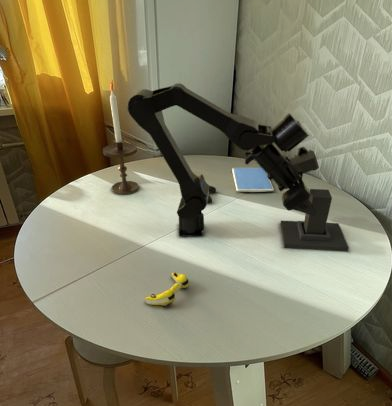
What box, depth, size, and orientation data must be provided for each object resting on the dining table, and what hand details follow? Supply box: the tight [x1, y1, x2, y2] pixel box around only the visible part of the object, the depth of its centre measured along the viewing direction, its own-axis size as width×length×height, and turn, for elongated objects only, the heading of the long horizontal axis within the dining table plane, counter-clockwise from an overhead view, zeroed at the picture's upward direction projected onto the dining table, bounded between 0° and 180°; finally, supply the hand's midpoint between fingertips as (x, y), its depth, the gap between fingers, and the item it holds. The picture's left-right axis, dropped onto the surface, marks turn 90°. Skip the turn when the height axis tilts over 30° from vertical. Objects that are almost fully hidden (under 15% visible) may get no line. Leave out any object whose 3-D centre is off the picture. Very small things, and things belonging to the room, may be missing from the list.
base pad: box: [280, 220, 349, 252], centre depth 95 cm, size 16×12×3 cm
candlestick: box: [102, 79, 140, 196], centre depth 112 cm, size 11×11×35 cm
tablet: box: [231, 167, 274, 193], centre depth 126 cm, size 19×13×1 cm, turn 0°
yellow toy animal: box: [144, 272, 190, 307], centre depth 77 cm, size 10×6×4 cm, turn 148°
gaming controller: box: [207, 185, 217, 205], centre depth 115 cm, size 10×5×6 cm
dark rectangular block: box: [303, 188, 333, 235], centre depth 92 cm, size 5×5×12 cm
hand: (312, 205), depth 91 cm, fingers open, 9 cm apart
